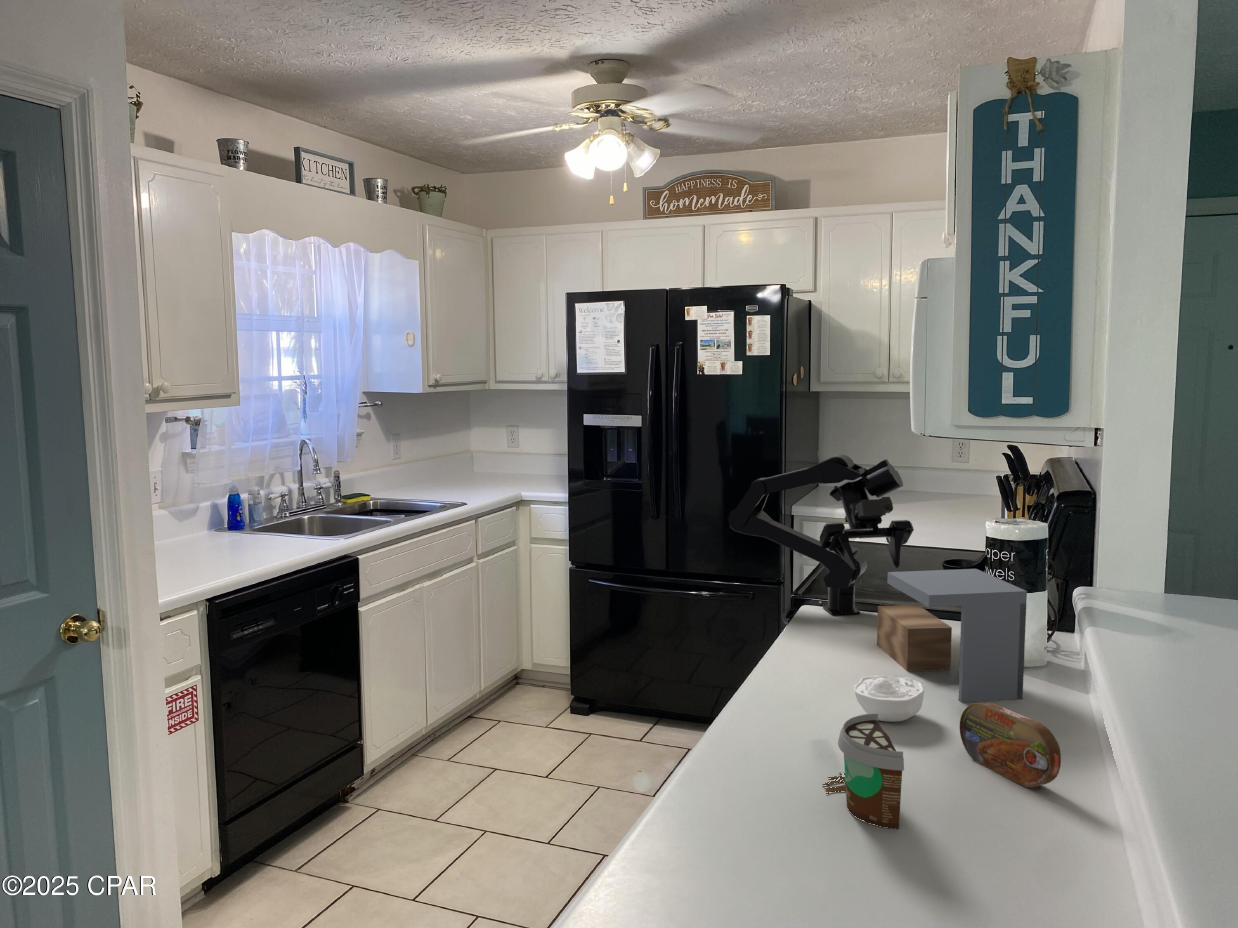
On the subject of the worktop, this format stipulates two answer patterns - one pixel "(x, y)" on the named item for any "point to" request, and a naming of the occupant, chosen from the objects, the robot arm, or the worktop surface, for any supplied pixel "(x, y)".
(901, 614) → the walnut block
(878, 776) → the food container
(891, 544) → the robot arm
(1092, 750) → the worktop surface
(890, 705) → the white bowl of cream
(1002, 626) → the slate shelf
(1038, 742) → the tin
